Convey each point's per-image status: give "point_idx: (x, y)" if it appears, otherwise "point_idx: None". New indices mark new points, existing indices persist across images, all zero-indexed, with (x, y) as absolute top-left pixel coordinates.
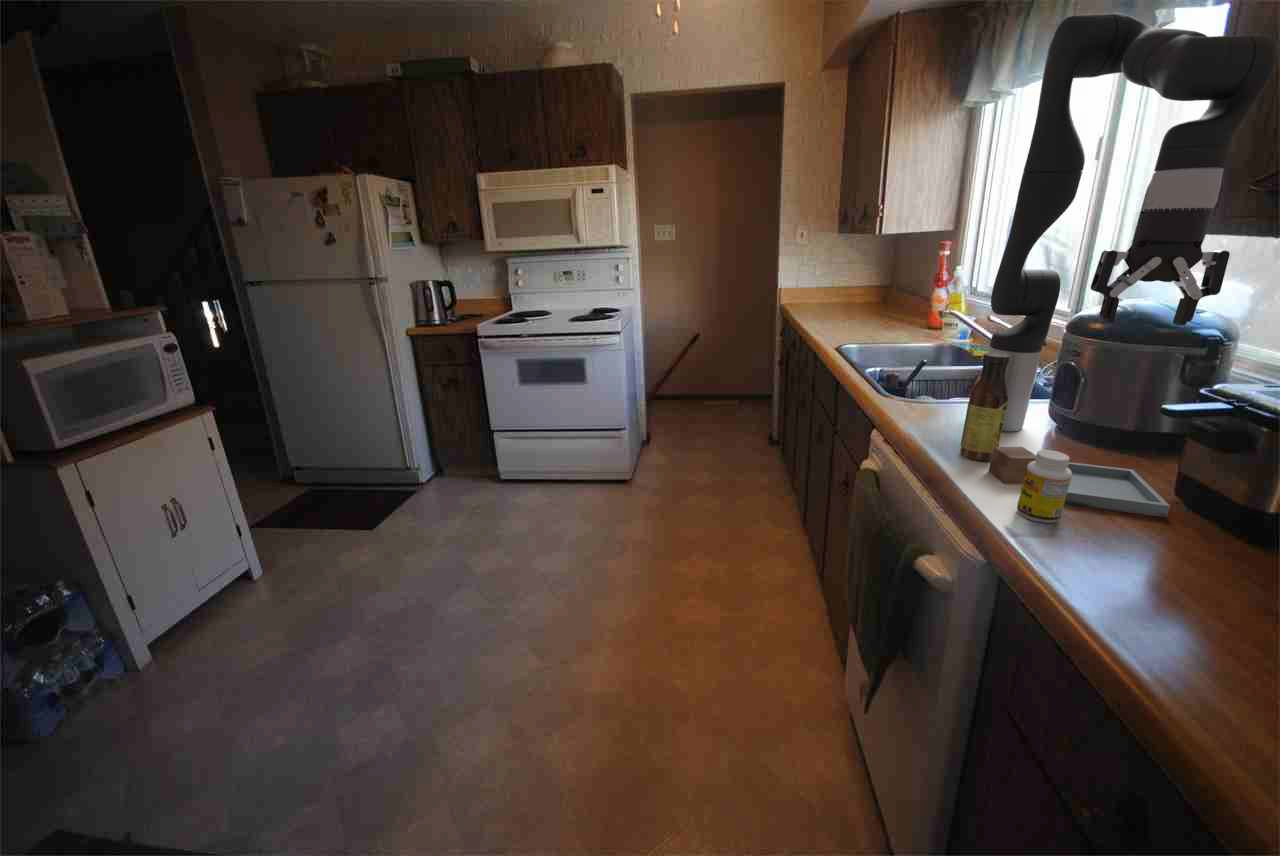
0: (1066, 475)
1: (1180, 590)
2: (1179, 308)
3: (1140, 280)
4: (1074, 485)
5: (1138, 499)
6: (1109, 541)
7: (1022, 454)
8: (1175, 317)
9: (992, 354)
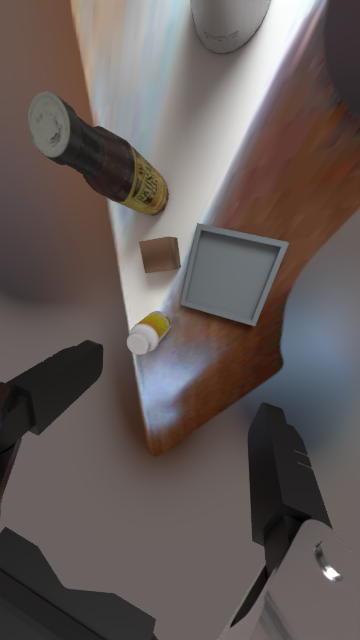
0: (149, 351)
1: (195, 393)
2: (265, 462)
3: (9, 541)
4: (210, 273)
5: (250, 298)
6: (188, 352)
7: (159, 261)
8: (265, 420)
9: (40, 124)
